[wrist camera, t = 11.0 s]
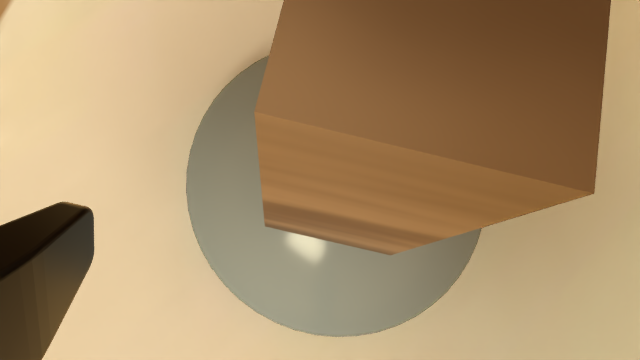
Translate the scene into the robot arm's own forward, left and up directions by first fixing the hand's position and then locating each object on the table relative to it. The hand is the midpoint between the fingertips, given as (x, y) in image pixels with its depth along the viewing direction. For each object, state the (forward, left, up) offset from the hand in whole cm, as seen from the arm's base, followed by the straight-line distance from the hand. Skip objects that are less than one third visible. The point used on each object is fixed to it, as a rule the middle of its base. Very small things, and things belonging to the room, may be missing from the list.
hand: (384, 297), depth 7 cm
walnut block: (+4, -1, -12) cm, 12 cm away
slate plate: (+4, -1, -13) cm, 14 cm away
